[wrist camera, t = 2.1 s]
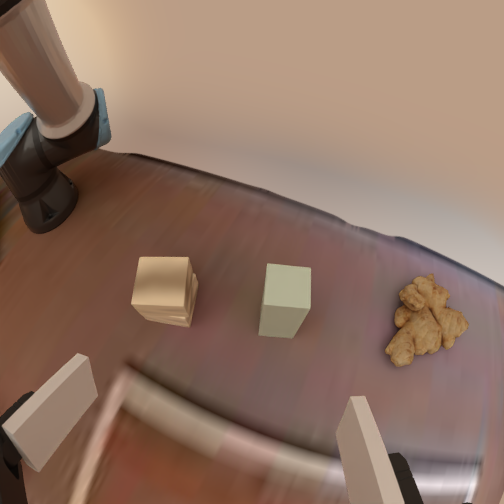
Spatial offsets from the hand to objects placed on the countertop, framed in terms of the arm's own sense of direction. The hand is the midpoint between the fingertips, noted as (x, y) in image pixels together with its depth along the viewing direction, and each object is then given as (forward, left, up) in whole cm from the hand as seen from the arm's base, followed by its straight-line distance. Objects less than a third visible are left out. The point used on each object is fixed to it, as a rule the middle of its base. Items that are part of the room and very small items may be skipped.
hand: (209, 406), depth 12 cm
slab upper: (-14, -11, -22) cm, 28 cm away
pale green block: (-14, +5, -26) cm, 30 cm away
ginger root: (-15, +29, -26) cm, 42 cm away
